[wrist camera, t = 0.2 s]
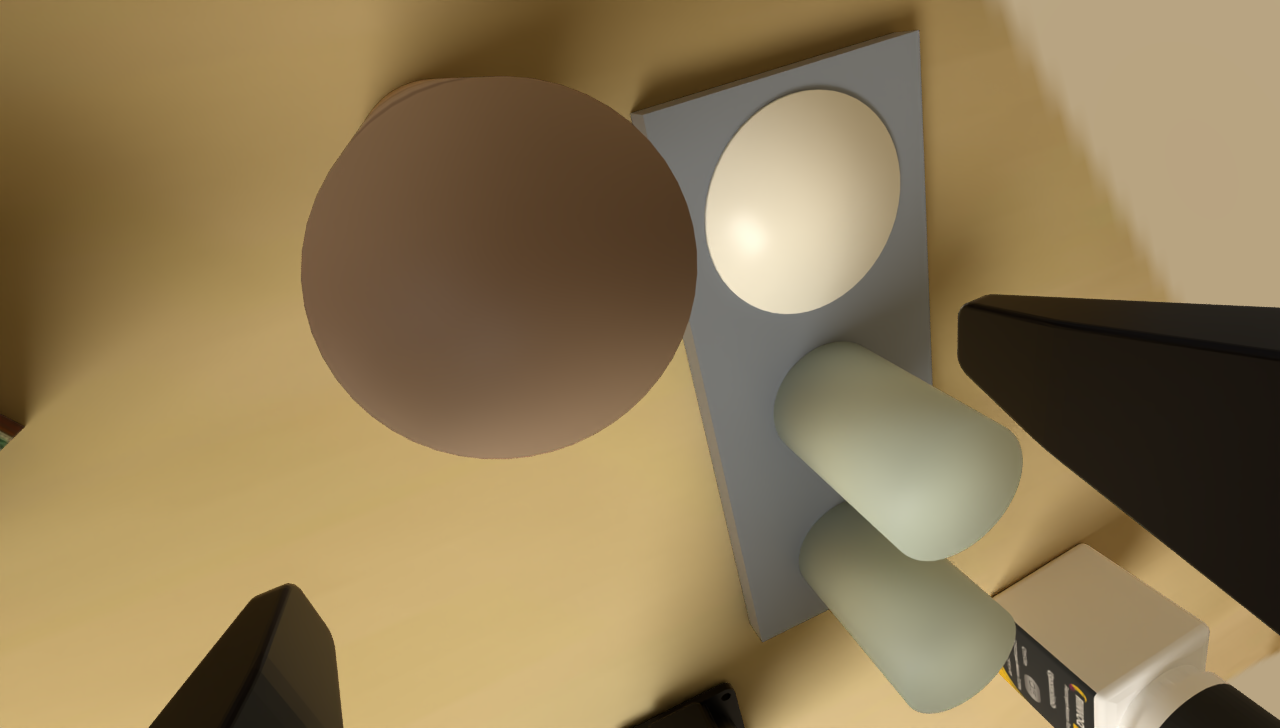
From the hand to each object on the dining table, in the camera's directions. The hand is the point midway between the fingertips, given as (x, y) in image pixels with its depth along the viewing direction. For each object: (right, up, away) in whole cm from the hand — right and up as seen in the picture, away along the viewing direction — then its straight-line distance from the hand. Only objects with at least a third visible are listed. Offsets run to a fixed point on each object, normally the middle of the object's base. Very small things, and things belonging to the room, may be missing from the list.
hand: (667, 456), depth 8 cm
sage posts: (+8, -4, +20) cm, 22 cm away
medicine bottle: (+24, -14, +32) cm, 42 cm away
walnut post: (-6, +7, +11) cm, 15 cm away
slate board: (+7, +1, +19) cm, 20 cm away
